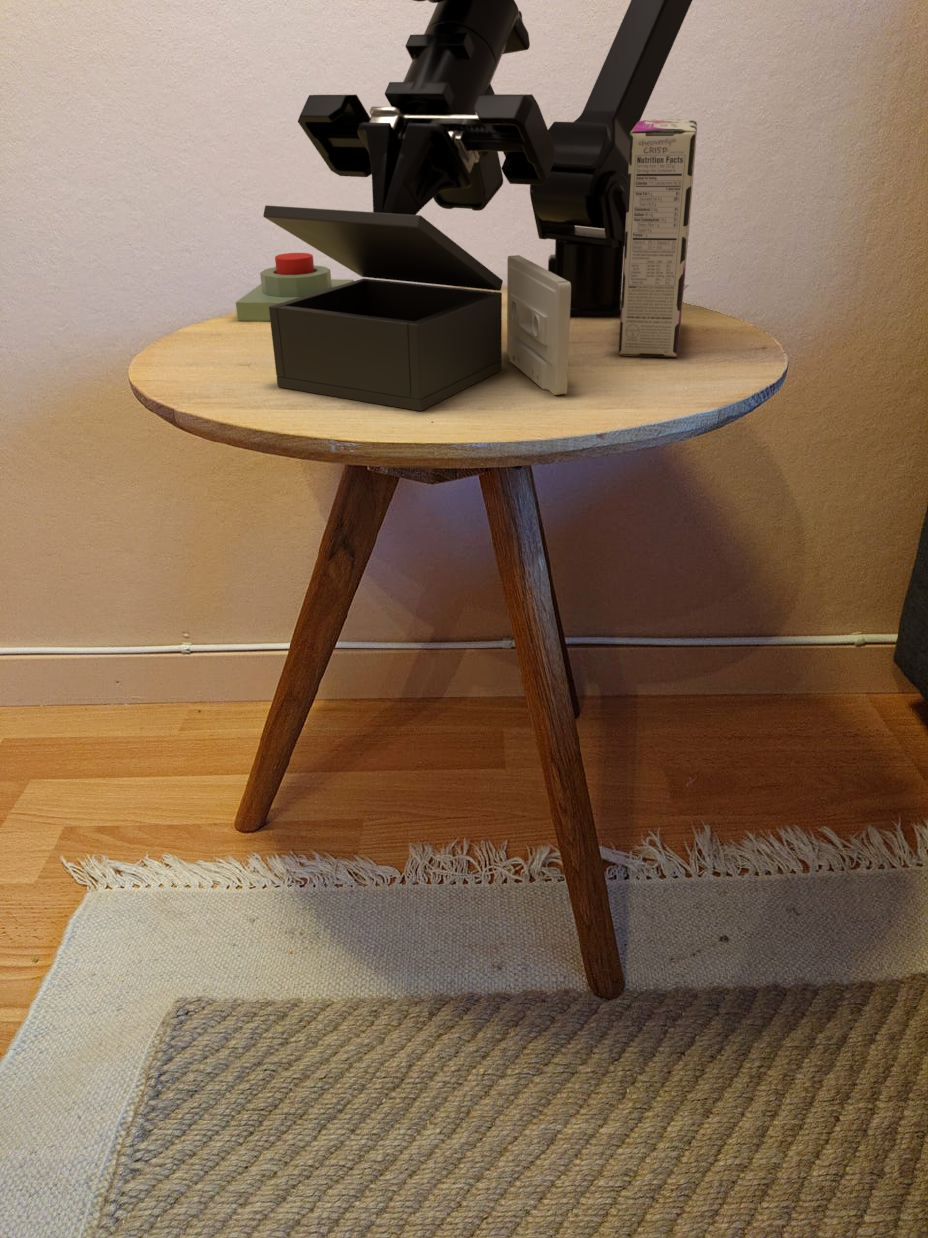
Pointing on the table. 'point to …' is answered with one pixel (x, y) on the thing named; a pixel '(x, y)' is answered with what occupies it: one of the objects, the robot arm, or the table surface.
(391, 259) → the lid
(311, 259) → the button
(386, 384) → the black lidded box
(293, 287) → the switch block
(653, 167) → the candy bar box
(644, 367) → the table surface
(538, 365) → the cassette
